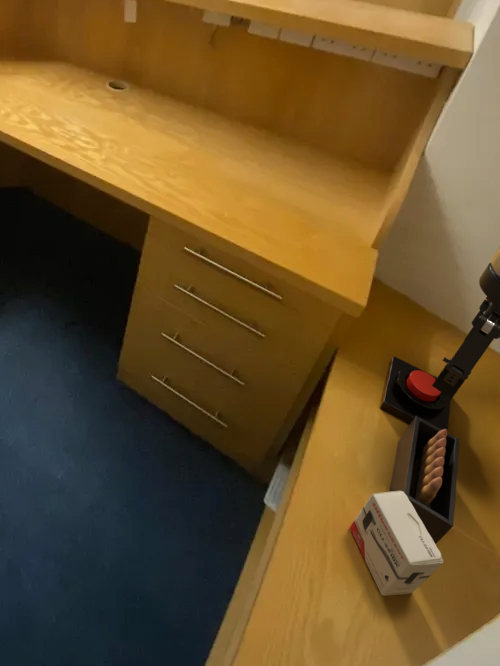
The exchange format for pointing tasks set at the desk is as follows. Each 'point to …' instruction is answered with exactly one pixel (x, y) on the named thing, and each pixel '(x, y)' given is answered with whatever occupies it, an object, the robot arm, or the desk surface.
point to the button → (422, 386)
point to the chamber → (443, 504)
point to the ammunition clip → (428, 469)
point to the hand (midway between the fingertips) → (458, 366)
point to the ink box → (395, 543)
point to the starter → (411, 398)
